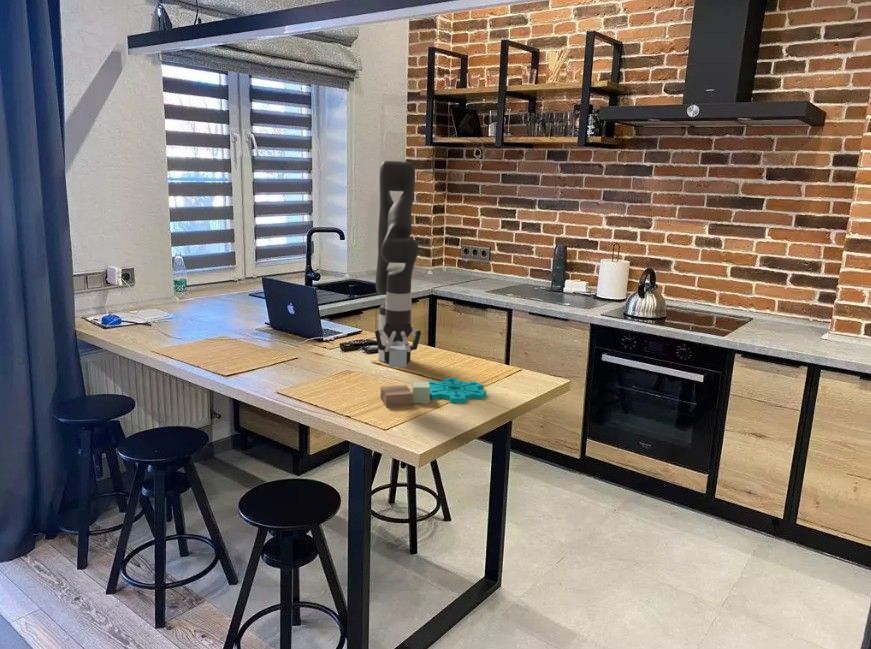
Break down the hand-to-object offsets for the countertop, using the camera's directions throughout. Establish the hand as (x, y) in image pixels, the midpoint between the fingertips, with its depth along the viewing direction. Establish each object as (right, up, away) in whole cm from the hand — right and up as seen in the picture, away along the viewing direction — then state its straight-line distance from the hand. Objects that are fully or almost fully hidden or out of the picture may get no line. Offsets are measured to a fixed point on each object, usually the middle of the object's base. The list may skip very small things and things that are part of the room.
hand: (397, 363), depth 194 cm
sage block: (+9, -9, +5) cm, 14 cm away
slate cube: (0, 0, 0) cm, 0 cm away
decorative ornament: (+17, -10, +14) cm, 24 cm away
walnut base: (0, -12, +3) cm, 12 cm away
